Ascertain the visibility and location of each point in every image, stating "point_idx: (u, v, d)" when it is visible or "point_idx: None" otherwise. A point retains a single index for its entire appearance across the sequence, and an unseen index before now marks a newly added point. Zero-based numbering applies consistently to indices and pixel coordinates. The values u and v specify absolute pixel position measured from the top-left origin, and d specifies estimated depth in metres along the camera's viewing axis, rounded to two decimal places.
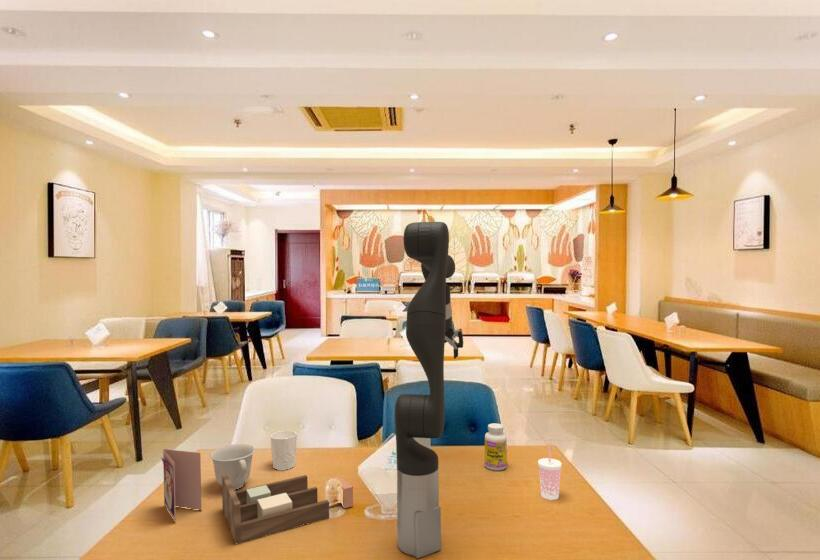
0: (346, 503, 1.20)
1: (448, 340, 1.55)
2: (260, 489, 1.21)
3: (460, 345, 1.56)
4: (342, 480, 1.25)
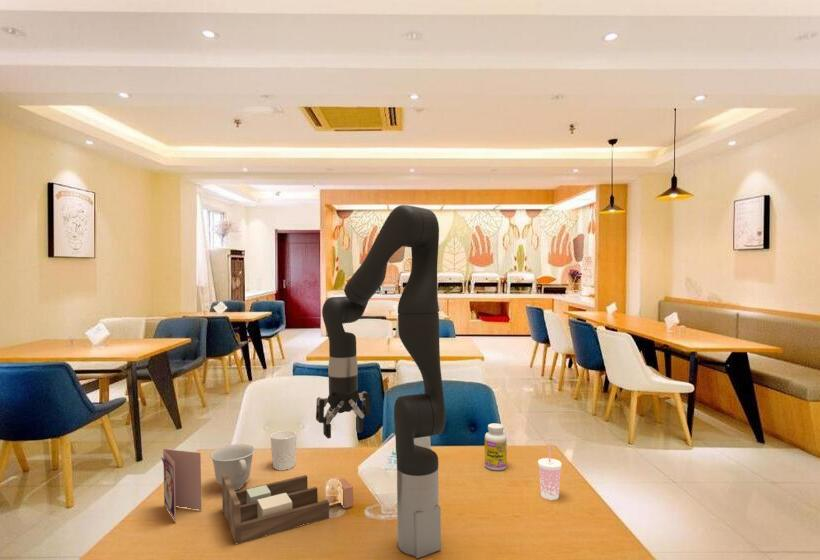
0: (346, 503, 1.20)
1: (354, 406, 1.23)
2: (260, 489, 1.21)
3: (367, 411, 1.25)
4: (342, 480, 1.25)
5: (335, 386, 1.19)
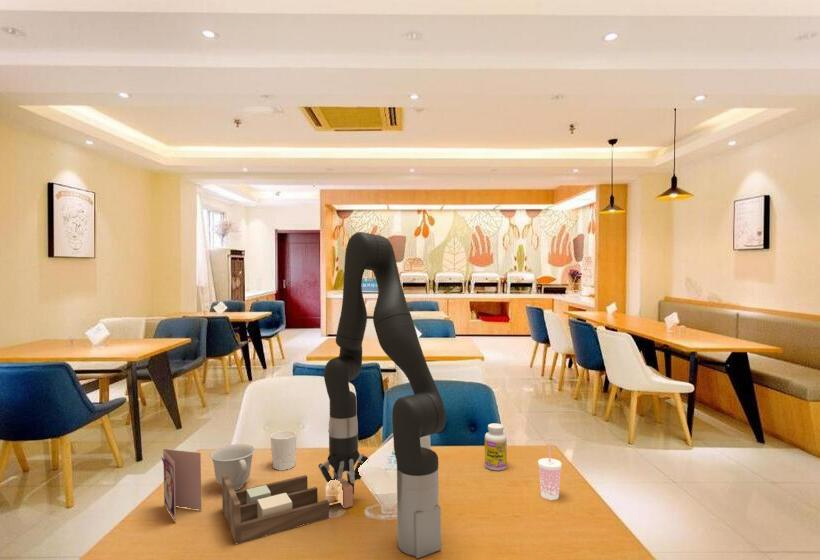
0: (346, 503, 1.20)
1: None
2: (260, 489, 1.21)
3: (358, 476, 1.24)
4: (342, 480, 1.25)
5: (335, 447, 1.19)
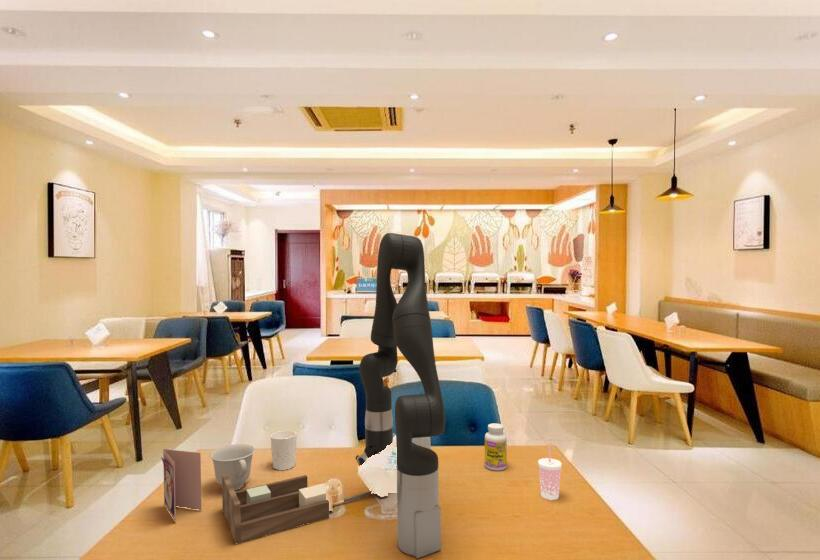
0: None
1: None
2: (260, 489, 1.21)
3: None
4: None
5: (372, 439, 1.25)
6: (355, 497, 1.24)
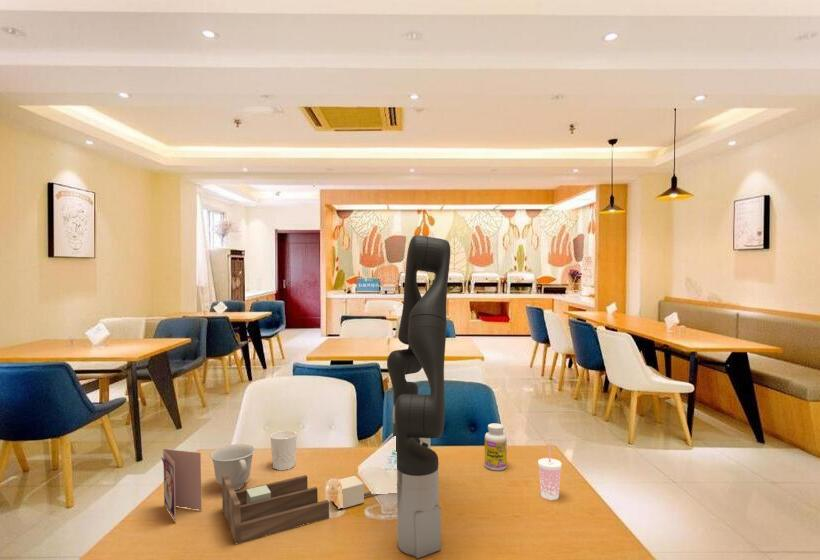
0: None
1: None
2: (260, 489, 1.21)
3: None
4: None
5: None
6: None
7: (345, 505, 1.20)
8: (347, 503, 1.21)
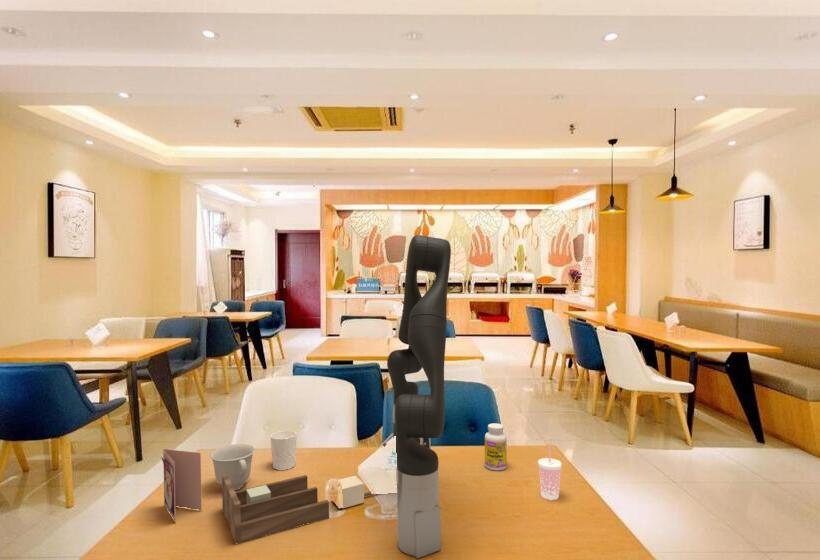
0: None
1: None
2: (260, 489, 1.21)
3: None
4: None
5: None
6: None
7: (345, 505, 1.20)
8: (347, 503, 1.21)
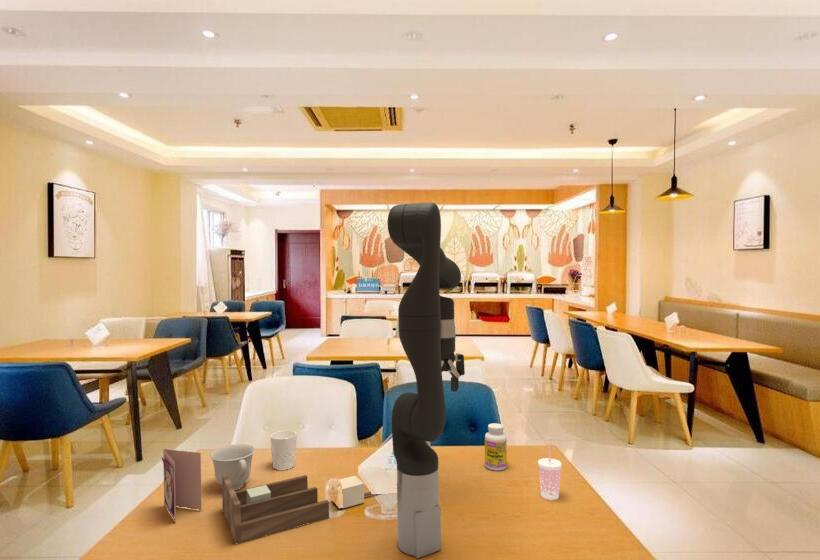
0: None
1: (452, 366, 1.31)
2: (260, 489, 1.21)
3: (462, 372, 1.33)
4: None
5: None
6: None
7: (345, 505, 1.20)
8: (347, 503, 1.21)
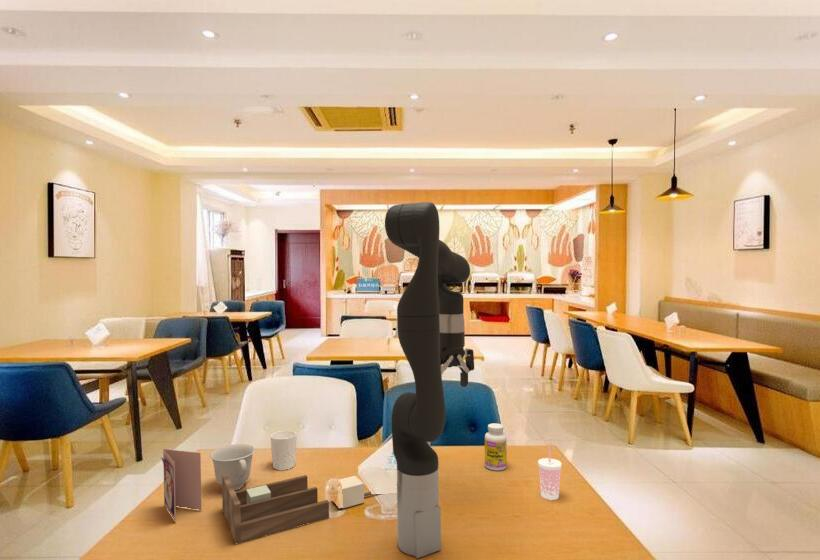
0: None
1: (461, 361, 1.30)
2: (260, 489, 1.21)
3: (472, 367, 1.33)
4: None
5: (446, 341, 1.27)
6: None
7: (345, 505, 1.20)
8: (347, 503, 1.21)
